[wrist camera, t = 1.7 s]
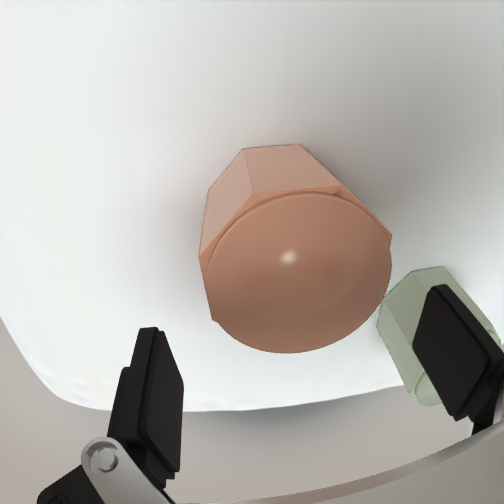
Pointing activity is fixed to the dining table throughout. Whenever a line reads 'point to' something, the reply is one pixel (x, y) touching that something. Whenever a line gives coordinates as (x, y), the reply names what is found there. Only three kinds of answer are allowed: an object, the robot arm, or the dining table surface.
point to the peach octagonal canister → (290, 252)
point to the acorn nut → (406, 321)
